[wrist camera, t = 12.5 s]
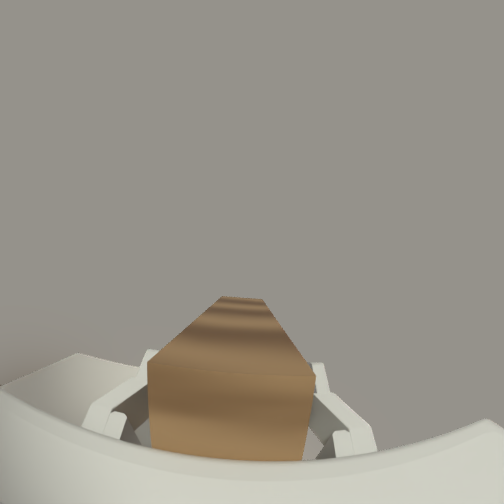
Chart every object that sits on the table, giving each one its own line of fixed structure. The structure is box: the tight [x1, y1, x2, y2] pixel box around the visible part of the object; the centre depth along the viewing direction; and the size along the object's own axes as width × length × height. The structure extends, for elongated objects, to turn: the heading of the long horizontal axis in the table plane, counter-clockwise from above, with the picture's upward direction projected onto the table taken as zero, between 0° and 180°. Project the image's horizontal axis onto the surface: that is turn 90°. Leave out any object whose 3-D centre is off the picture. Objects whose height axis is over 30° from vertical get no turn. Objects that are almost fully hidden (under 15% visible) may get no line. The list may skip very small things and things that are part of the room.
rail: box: [147, 296, 316, 461], centre depth 17 cm, size 22×4×4 cm, turn 1°
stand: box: [0, 353, 152, 448], centre depth 21 cm, size 12×18×26 cm, turn 1°
